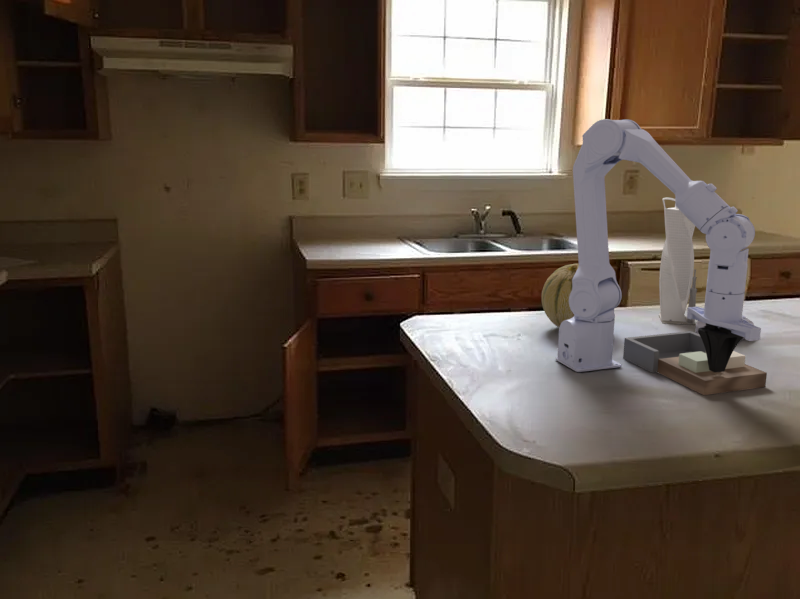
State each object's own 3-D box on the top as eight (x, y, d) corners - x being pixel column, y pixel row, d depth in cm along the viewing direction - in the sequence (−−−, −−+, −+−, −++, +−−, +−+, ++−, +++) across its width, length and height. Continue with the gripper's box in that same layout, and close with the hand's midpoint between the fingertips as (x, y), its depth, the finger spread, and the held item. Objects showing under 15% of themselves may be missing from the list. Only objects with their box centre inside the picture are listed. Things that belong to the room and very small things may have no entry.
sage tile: (695, 372, 121) (696, 361, 121) (678, 364, 126) (679, 353, 125) (717, 370, 123) (719, 358, 122) (699, 362, 127) (700, 351, 126)
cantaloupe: (606, 323, 162) (610, 257, 159) (613, 341, 148) (618, 269, 145) (539, 320, 165) (542, 255, 161) (540, 338, 151) (543, 267, 147)
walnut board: (703, 395, 118) (705, 380, 118) (657, 372, 129) (658, 359, 129) (765, 386, 122) (766, 372, 121) (715, 365, 133) (716, 352, 132)
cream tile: (722, 369, 123) (723, 358, 123) (704, 361, 127) (705, 350, 127) (744, 366, 124) (745, 355, 124) (725, 359, 128) (726, 348, 128)
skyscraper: (655, 324, 162) (665, 199, 156) (651, 315, 170) (660, 195, 163) (695, 326, 160) (707, 199, 154) (689, 317, 168) (700, 196, 161)
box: (652, 372, 129) (654, 351, 128) (623, 358, 137) (624, 337, 136) (721, 364, 133) (723, 343, 132) (689, 350, 142) (690, 331, 141)
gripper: (780, 298, 111) (770, 382, 114) (714, 280, 124) (706, 355, 128) (742, 302, 109) (733, 387, 112) (679, 283, 122) (672, 359, 126)
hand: (716, 370), depth 120 cm, fingers closed
